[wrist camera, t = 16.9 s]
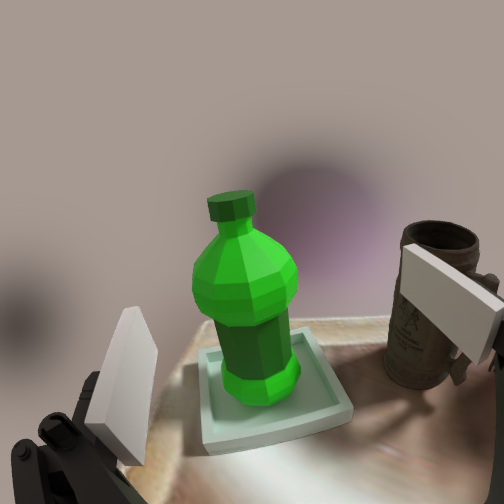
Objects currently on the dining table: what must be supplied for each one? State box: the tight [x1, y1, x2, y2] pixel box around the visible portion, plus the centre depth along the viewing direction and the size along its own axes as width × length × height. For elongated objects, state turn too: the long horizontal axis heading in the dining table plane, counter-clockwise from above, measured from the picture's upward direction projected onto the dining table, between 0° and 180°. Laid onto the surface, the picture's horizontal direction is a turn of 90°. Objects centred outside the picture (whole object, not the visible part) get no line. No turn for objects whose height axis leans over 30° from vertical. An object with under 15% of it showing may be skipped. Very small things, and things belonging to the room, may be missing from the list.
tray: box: [198, 326, 354, 456], centre depth 35 cm, size 17×17×3 cm
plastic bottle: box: [192, 190, 301, 406], centre depth 31 cm, size 10×10×25 cm
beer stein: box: [384, 220, 500, 389], centre depth 29 cm, size 15×11×20 cm
